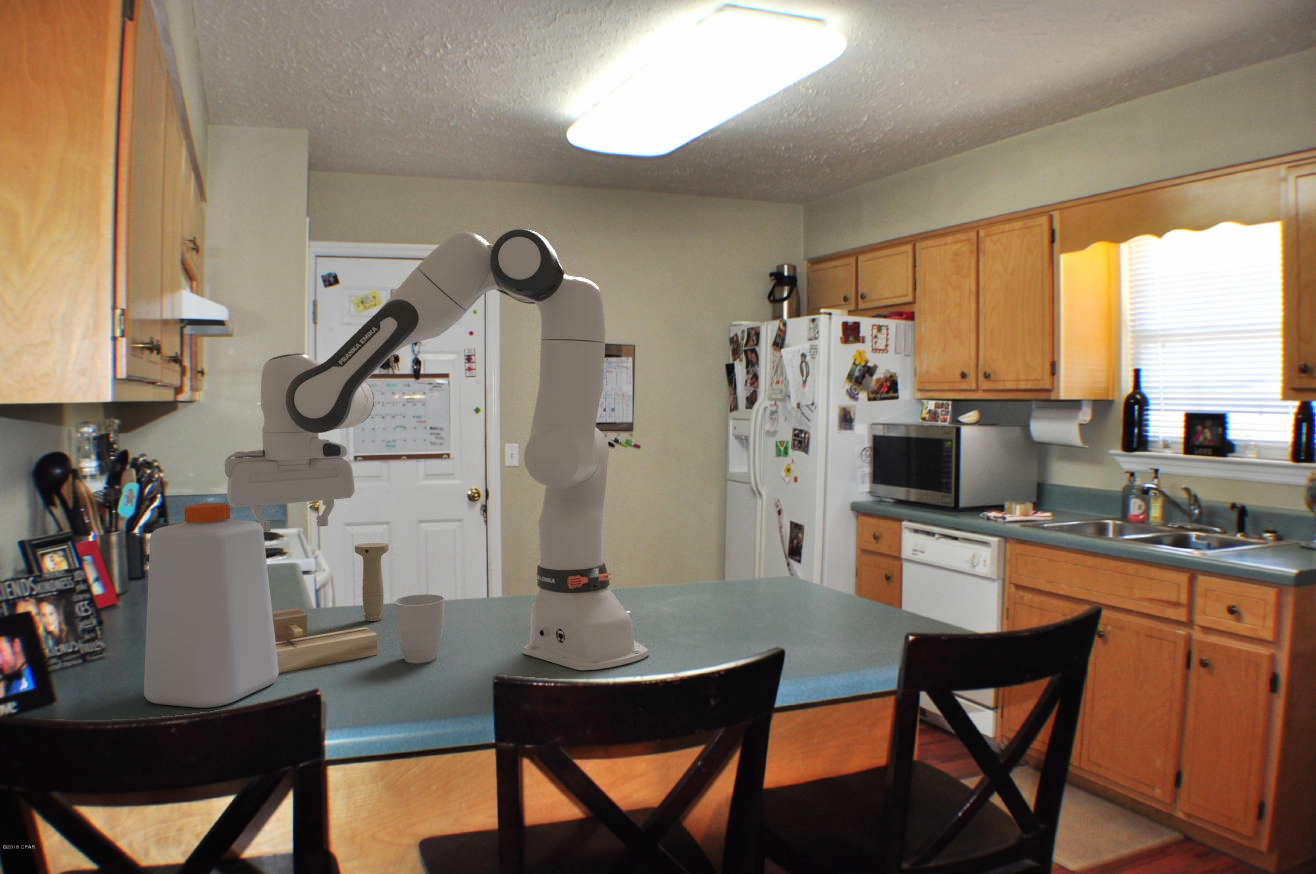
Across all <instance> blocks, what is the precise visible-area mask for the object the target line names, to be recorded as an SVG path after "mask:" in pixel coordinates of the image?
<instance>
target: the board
mask: <svg viewBox="0 0 1316 874" xmlns="http://www.w3.org/2000/svg"><path fill="white" fill-rule="evenodd" d="M275 643H276V652H277V661H278V670H279V674H281V673H286V672H292V671H298V670H303V669H308V668H309V669H310V668H314V667H318V666H324V665H325V666H326V665H330V664H335V663H341V662H346V661H351V660H355V659H356V660H357V659H361V658H362V659H363V658H367V657H373V656H377V655H379V653H378V634H377V633H376V632H374V631H373V630H371V629H370V628H368V627H366V626H365V627H360V628H358V627H357V628H353V629H346V630H340V631H335V632H328V633H323V634H317V635H310V636H308V637H304V638H298V639H292V640H286V641H279V642H275Z"/></svg>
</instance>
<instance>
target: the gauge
mask: <svg viewBox="0 0 1316 874" xmlns="http://www.w3.org/2000/svg"><path fill="white" fill-rule="evenodd" d="M272 616H273V625H274V634H275V642H279V641H286V640H292V639H298V638H304V637H309V636H308V614H307V613H305V612H304V611H303V610H301V609H300V608H298V607H297V608H292V609H283V610H278V611H272Z"/></svg>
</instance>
